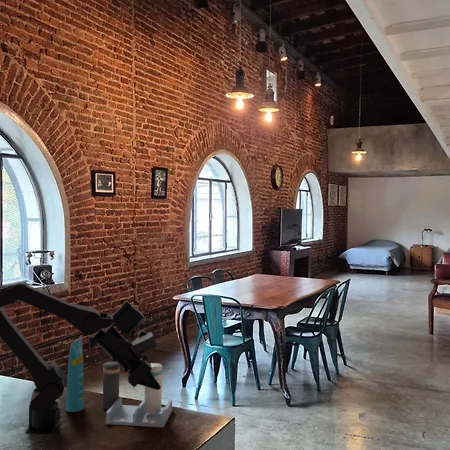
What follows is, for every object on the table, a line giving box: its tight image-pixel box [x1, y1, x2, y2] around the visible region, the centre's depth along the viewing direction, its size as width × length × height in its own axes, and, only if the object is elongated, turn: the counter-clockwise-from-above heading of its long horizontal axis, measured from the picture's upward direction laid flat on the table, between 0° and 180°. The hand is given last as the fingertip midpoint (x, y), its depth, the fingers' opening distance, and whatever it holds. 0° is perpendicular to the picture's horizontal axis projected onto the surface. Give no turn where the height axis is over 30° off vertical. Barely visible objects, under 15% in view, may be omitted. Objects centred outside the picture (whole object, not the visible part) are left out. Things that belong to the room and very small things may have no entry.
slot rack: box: [105, 396, 173, 428], centre depth 132 cm, size 15×11×3 cm
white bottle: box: [144, 362, 163, 414], centre depth 132 cm, size 4×4×12 cm
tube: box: [65, 336, 85, 413], centre depth 137 cm, size 7×5×19 cm, turn 2°
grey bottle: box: [102, 361, 121, 411], centre depth 139 cm, size 4×4×12 cm
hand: (158, 385), depth 132 cm, fingers closed on white bottle, 4 cm apart
